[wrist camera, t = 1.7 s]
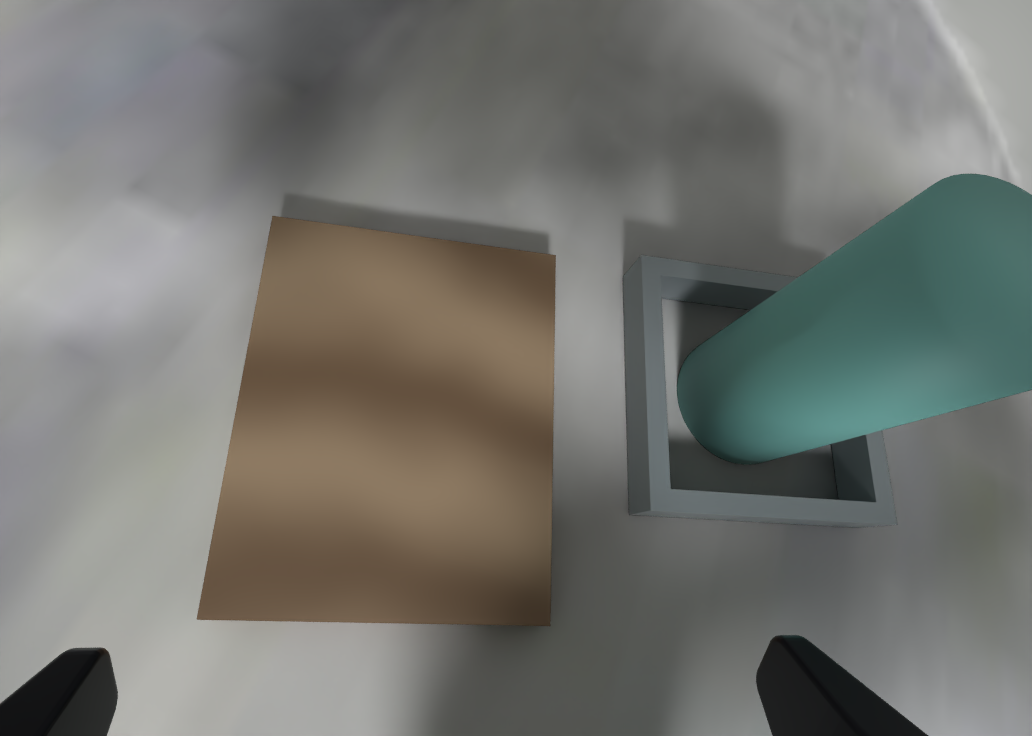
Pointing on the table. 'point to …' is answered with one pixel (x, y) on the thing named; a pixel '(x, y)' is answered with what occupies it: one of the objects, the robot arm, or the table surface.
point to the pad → (390, 435)
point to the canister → (876, 330)
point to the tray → (646, 411)
